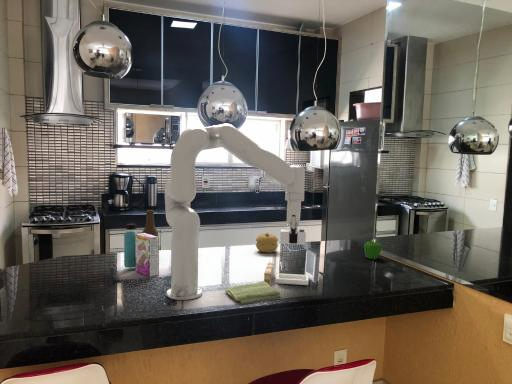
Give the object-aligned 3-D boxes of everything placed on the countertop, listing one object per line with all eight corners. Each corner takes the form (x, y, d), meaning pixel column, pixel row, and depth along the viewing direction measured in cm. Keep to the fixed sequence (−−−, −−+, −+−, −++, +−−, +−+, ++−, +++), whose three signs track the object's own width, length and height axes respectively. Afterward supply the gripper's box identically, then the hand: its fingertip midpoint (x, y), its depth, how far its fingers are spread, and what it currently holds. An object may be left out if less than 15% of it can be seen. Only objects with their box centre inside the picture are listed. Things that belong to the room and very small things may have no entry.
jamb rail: (270, 286, 156) (270, 273, 155) (263, 285, 156) (264, 273, 156) (273, 274, 172) (273, 263, 171) (267, 274, 172) (268, 262, 171)
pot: (280, 250, 216) (281, 232, 215) (272, 255, 205) (273, 236, 204) (260, 248, 221) (261, 230, 220) (252, 252, 210) (252, 233, 209)
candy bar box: (134, 272, 171) (134, 234, 169) (145, 269, 175) (145, 232, 173) (149, 277, 163) (149, 238, 162) (159, 275, 167) (159, 236, 166)
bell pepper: (366, 255, 209) (367, 236, 209) (382, 258, 205) (383, 238, 204) (360, 258, 203) (361, 239, 202) (377, 261, 198) (378, 241, 197)
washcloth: (223, 293, 148) (223, 285, 147) (266, 287, 155) (266, 279, 155) (237, 305, 136) (237, 296, 136) (282, 298, 143) (282, 290, 143)
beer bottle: (161, 259, 192) (162, 210, 190) (149, 263, 185) (149, 211, 183) (150, 257, 196) (150, 208, 194) (138, 260, 189) (137, 210, 187)
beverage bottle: (134, 271, 171) (134, 225, 169) (120, 270, 172) (120, 224, 171) (142, 267, 177) (142, 223, 176) (128, 266, 179) (128, 222, 177)
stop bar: (280, 241, 164) (281, 228, 163) (305, 242, 163) (305, 229, 162) (280, 243, 160) (280, 229, 160) (305, 244, 159) (305, 230, 158)
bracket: (308, 285, 158) (308, 280, 158) (275, 283, 160) (275, 278, 160) (308, 279, 166) (308, 275, 165) (276, 277, 167) (276, 273, 167)
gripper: (286, 194, 168) (285, 237, 170) (284, 198, 152) (282, 246, 153) (304, 195, 168) (302, 238, 169) (304, 199, 151) (302, 247, 153)
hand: (293, 241), depth 161 cm, fingers closed on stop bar, 4 cm apart
